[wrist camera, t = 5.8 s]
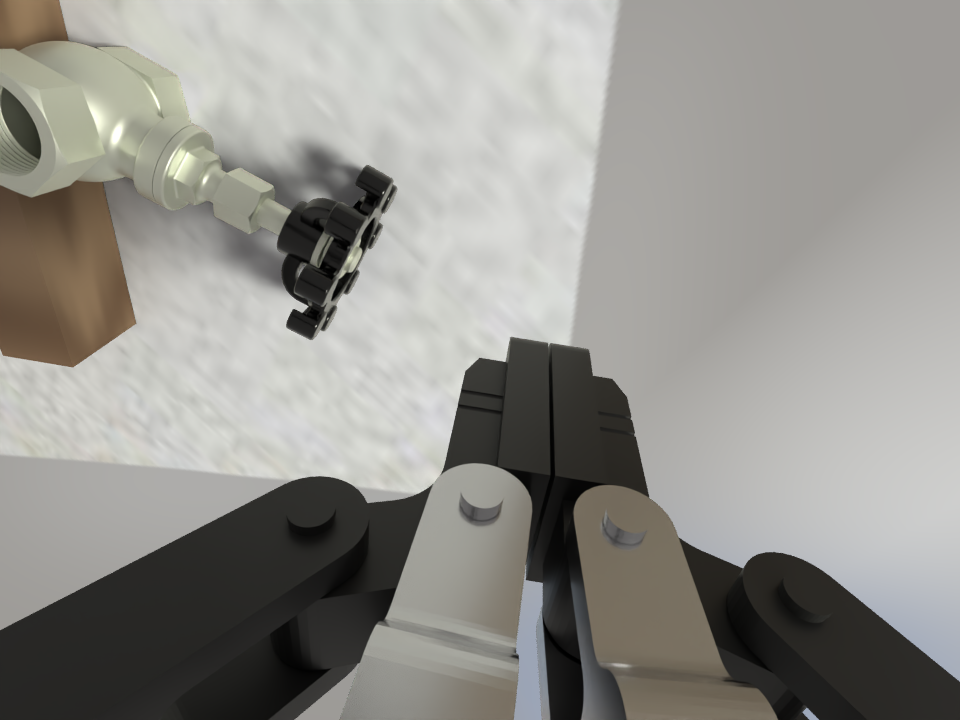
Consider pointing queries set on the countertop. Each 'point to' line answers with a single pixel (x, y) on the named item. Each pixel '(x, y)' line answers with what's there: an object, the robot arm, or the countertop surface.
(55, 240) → the bar
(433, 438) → the countertop surface
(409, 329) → the countertop surface
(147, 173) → the valve
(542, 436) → the robot arm
